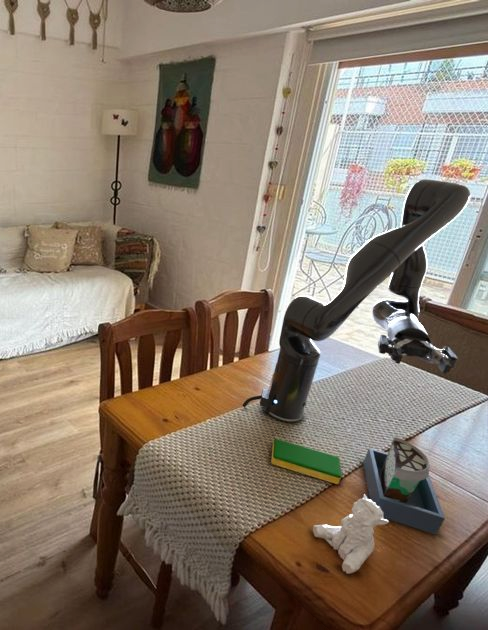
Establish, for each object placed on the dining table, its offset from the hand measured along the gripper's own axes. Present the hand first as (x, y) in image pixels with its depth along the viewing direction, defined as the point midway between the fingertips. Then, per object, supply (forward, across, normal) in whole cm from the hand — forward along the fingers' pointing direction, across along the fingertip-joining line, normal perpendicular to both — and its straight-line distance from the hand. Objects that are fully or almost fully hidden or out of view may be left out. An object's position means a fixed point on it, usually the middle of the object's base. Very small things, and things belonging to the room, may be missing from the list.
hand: (422, 364), depth 96 cm
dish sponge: (+14, -18, +25) cm, 34 cm away
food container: (+14, 0, +25) cm, 29 cm away
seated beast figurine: (+35, -11, +25) cm, 44 cm away
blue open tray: (+15, 0, +25) cm, 29 cm away
